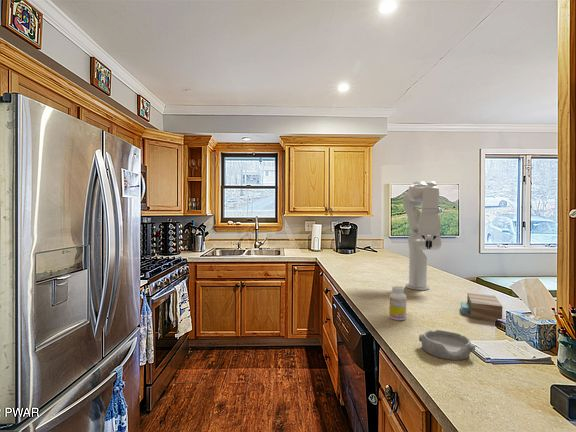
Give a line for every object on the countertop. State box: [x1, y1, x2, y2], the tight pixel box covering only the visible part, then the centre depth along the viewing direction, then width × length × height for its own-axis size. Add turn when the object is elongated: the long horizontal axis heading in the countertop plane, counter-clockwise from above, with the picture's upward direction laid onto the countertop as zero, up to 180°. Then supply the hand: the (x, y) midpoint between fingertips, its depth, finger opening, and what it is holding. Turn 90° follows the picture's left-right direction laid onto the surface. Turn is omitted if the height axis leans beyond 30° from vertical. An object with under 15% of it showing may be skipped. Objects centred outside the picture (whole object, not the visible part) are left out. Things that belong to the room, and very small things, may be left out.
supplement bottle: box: [389, 285, 407, 321], centre depth 135 cm, size 7×7×13 cm
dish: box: [418, 329, 476, 361], centre depth 104 cm, size 14×14×5 cm
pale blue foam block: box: [460, 301, 471, 315], centre depth 143 cm, size 9×12×3 cm
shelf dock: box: [464, 292, 503, 322], centre depth 142 cm, size 18×13×6 cm
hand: (428, 248), depth 161 cm, fingers closed
